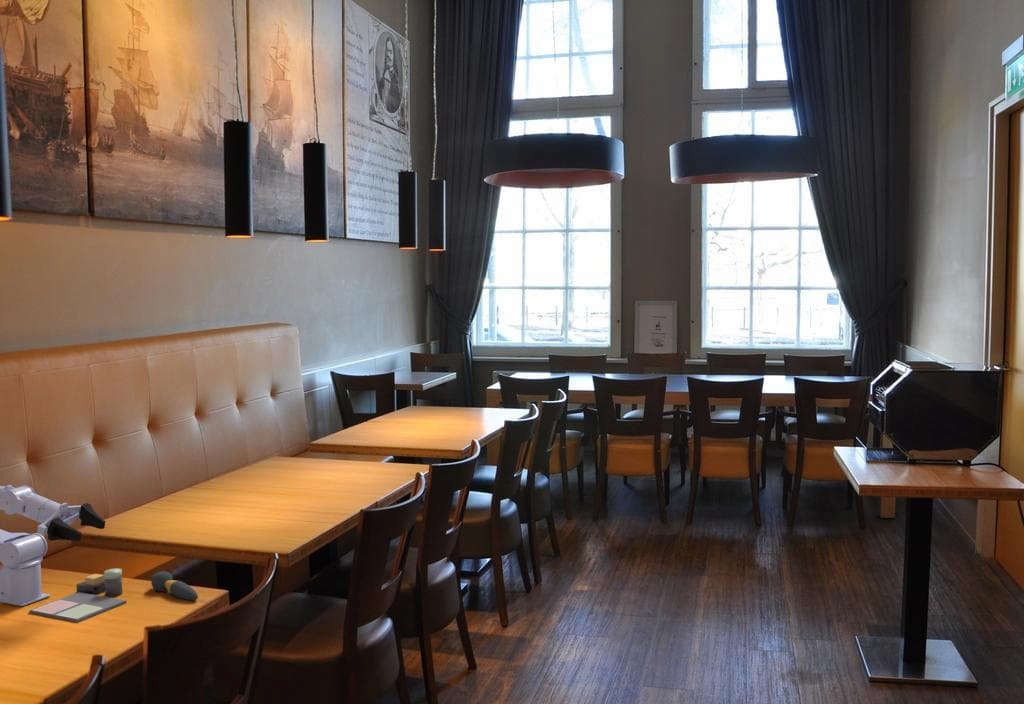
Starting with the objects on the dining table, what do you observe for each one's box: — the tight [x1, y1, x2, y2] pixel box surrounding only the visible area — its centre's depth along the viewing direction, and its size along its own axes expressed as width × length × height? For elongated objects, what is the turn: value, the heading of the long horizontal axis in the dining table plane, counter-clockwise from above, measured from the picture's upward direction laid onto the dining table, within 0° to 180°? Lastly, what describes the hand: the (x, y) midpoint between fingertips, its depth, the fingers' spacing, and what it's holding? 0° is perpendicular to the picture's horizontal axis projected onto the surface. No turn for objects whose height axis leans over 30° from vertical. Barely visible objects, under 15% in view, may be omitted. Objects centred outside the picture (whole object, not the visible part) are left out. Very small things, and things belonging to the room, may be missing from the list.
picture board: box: [28, 592, 127, 623], centre depth 215 cm, size 16×14×1 cm
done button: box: [84, 573, 105, 586], centre depth 228 cm, size 3×3×2 cm
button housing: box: [75, 581, 105, 595], centre depth 228 cm, size 6×6×2 cm
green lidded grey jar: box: [103, 567, 123, 598], centre depth 225 cm, size 4×4×6 cm
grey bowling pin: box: [150, 570, 199, 601], centre depth 225 cm, size 20×5×5 cm, turn 58°
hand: (92, 531), depth 214 cm, fingers open, 7 cm apart
